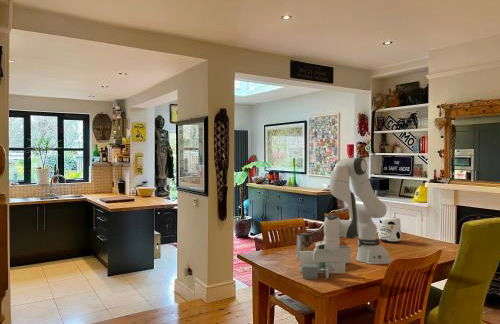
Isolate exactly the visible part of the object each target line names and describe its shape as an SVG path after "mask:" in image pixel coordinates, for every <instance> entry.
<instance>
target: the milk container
mask: <svg viewBox="0 0 500 324" xmlns="http://www.w3.org/2000/svg"><path fill="white" fill-rule="evenodd" d="M401 227H402V226H401V218H399V217H392V216H384V217H382V218H379V229H378V231H377V238H378V239H379V240H381V241H382V242H387V243H399V242H400V241H402V230H401Z"/></svg>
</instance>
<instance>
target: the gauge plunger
mask: <svg viewBox="0 0 500 324" xmlns="http://www.w3.org/2000/svg"><path fill="white" fill-rule="evenodd" d="M318 272H324V273H323V274H324V275H325V278H326V279H330V277H329V275H330V273H329V267H328V265H327V263H325V262H324V269H318Z"/></svg>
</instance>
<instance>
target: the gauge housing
mask: <svg viewBox="0 0 500 324" xmlns="http://www.w3.org/2000/svg"><path fill="white" fill-rule="evenodd" d="M325 263H327V262H325ZM333 265H334V264H333V263H330V264H329V266H330V267H333ZM318 269H324V262H314V261H313V251H300V259H299V273H301V276H302V279H304V280H305V279H306V280H307V279H308V280H318V277H319V275H318V274H324V272H318ZM329 274H343V275H345V274H346V264H345V263H336V266H335V268H334V271H329Z"/></svg>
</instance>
